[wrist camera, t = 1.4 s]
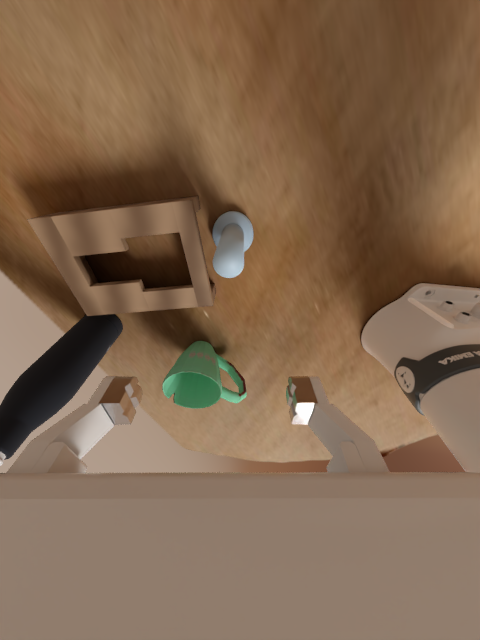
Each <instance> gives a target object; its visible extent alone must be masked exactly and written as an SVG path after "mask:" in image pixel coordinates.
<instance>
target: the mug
mask: <svg viewBox="0 0 480 640" xmlns="http://www.w3.org/2000/svg"><path fill="white" fill-rule="evenodd" d="M219 367H220V368H222V369H223V370H225V371H226V372H228V374H229V375H230V376H231V378H232V379H233V380H234V382H235V383H236V384H237V386H238V387H239V393H237V392H233V391H231V390H229V389H227V388H225V387H223V386H222V384H221V378H220V370H219ZM162 390H163V392H164V394H165V396H166V397H167V398H168V399H169V398H170V397H171V395H172V394H174V403H175V404H177V405H180V406H183V407H187V408H205V407H209V406H211V405H213V404H215V403H217V401H218V400H219V399H220V398H223V399H225V400H227V401H230V402H233V403H239V402H240V401H241V400H243V399H244V398H245V397H246V395H247V393H246V386H245V380H244V378H243V377H242V376H241V375H240V373H239V372H238V371H237V370H236V368H235V367H234V366H233V365H232V364H231V363H229V362H228V361H226V360H225V359H223V358H222V357H220V356H219V355H217V354H216V353H215V351H214V349H213V347H212V345H210V344H209V343H207V342H205V341H196V342H194V343H193V344H191V345H190V346H189V347H188V348H187V349H186V350H185V351H184V352H183V353H182V354H181V356H180V357H179V358H178V360H177V361H176V363H175V365H174V366H173V367H172V369H171V370H170V371H169V373H168V374H167V376H166V377H165V379H164V381H163V386H162Z"/></svg>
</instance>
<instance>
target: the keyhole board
mask: <svg viewBox="0 0 480 640" xmlns="http://www.w3.org/2000/svg"><path fill="white" fill-rule="evenodd" d="M199 210H200V203H199V198H198V196H192V197H184V198H176V199H167V200H159V201H151V202H142V203H134V204H126V205H117V206H109V207H101V208H92V209H84V210H76V211H67V212H59V213H52V214H48V215H44V216H40V217H35V218H31V219H27V220H28V222H29V223H30V225H31V227H32V228H33V230H34V231H35V233H36V235H37V236H38V238H39V239H40V241H41V243H42V244H43V246H44V247H45V249H46V251H47V252H48V254H49V255H50V257H51V259H52V260H53V262H54V263H55V265H56V267H57V268H58V270H59V272H60V273H61V275H62V276H63V278H64V280H65V281H66V283H67V284H68V286H69V288H70V289H71V291H72V292H73V294H74V296H75V297H76V299H77V300H78V302H79V304H80V305H81V307H82V308H83V310H84V312H85V313H86V315H87V316H94V315H106V314H119V313H131V312H143V311H155V310H167V309H180V308H192V307H204V306H213V303H214V299H215V294H216V288H215V284H210V281H209V276H208V272H207V267H206V262H205V257H204V252H203V247H202V242H201V237H200V232H199V227H198V222H197V217H196V212H197V211H199ZM177 232H179V233H180V237H181V241H182V245H183V249H184V253H185V257H186V261H187V265H188V268H189V272H190V276H191V280H192V284H193V285H183V286H172V287H161V288H150V289H145V287H144V285H143V282H142V280H141V279H139V280H128V281H118V282H107V283H98V281H97V279H96V277H95V275H94V273H93V271H92V270H91V268H90V266H89V264H88V262H87V260H86V258H85V256H84V255H93V254H102V253H112V252H121V251H127V250H128V249H129V247H128V245H127V242H126V240H125V238H131V237H140V236H150V235H159V234H168V233H177Z"/></svg>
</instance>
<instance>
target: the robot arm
mask: <svg viewBox="0 0 480 640" xmlns="http://www.w3.org/2000/svg"><path fill="white" fill-rule="evenodd" d="M361 342H362V345H363V347H364V349H365V350H366V351H367V352H368V353H369V354H371V355H372V356H373V357H375V358H376V359H377V360H378V361H379V362H380V363H381V364H382V365H383V366H384V367H385V368H386V369H387V370H388V371H389V372H390V373H391V374H392V375H393V376H394V377H395V378H396V380H397V382H398V384H399V386H400V387H401V389H402V391H403V392H404V394H405V395H406V396H407V398H408V399H409V401H410V402H411V403H412V404H413V406H414V407H415V408H416V410H417V411H418V412H419V413H420V414H422V415H424V416H425V417H426V418H427V419H428V421H429V422H430V424H431V425H432V426H433V428H434V429H435V430H436V432H437V433H438V434H439V436H440V437H441V439H442V440H443V441H444V443H445V444H446V445H447V447H448V448H449V449H450V451H451V452H452V454H454V456H455V458H456V459H457V460H458V462H459V463H460V464H461V466H462V467H463V468H464V470H465V471H466V472H389V470H388V468H387V466H386V464H385V462H384V460H383V458H382V456H381V454H380V452H379V450H378V448H377V446H376V444H375V442H374V440H373V439H371V438H370V437H369V436H368V435H367V434H366V433H365V432H364V431H362V430H361V429H360V428H359V427H358V426H357V425H356V424H355V423H353V422H352V421H351V420H350V419H349V418H348V417H347V416H346V415H344V414H343V413H342V412H341V411H340V410H339V409H338V408H337V407H335V406H334V405H333V404H329V401H328V399H327V396H326V394H325V391H324V389H323V386H322V384H321V381H320V378H319V377H308V376H296V377H289V379H288V383H289V385H288V386H287V389H286V397H287V404H288V405H289V406H290V411H289V413H290V418H291V423H292V424H308V426H309V427H310V428H311V430H312V431H313V432H314V433H315V435H316V436H317V437H318V438H319V439H320V441H321V442H322V443H323V444H324V446H325V447H326V448H327V449H328V451H329V452H330V453H331V454H332V456H333V457H332V459H331V461H330V463H329V464H328V466H327V471H328V472H324V473H321V472H320V473H319V472H318V473H317V472H316V473H85V471H86V469H87V466H86V465H85V464H84V463H83V462H82V461H81V460H80V459H81V458H82V457H83V456H84V455H85V454H86V453H87V452H88V451H89V450H90V449H91V448H92V447H93V446H94V445H95V444H96V443H97V442H98V441H99V440H100V439H101V438H102V437H103V436H104V435H105V434H106V433H107V432H108V431H109V430H110V429H111V428H112V427H113V426H114V425H117V424H131V423H132V420H133V418H134V416H135V413H136V410H135V407H137V406H138V405H139V404H140V401H141V399H142V388H141V386H139V385H138V384H137V383H138V379H137V377H117V376H106V377H105V378H104V379H103V380H102V382H101V383H100V385H99V386H98V388H97V389H96V391H95V392H94V394H93V395H92V397H91V399H90V400H89V402H88V403H87V404H83V405H82V406H81V407H79V408H78V409H76V410H75V411H73V412H72V413H70V414H69V415H68V416H66V417H65V418H63V419H62V420H60V421H59V422H57V423H56V424H55V425H53V426H52V427H50V428H49V429H47V430H46V431H45V432H43V433H42V434H40V435H39V436H37V437H36V438H34V439H33V440H32V441H31V442H30V443H29V444H28V445H27V447H26V448H25V449H24V451H23V452H22V453H21V455H20V456H19V457H18V459H17V460H16V461H15V462H14V464H13V465H12V466H11V467H10V469H9V470H8V471H7V473H0V640H480V288H471V287H460V286H449V285H438V284H427V283H420V284H417V285H415V286H414V287H412V288H411V289H410V290H409V291H408V292H406V293H405V294H404V295H403V296H402V297H401V298H399V299H398V300H396V301H394V302H392V303H390V304H388V305H387V306H385V307H384V308H382V309H381V310H379V311H378V312H377V313H376V314H375V315H374V316H373V317H372V318H371V319H370V320H369V321H368V322H367V324H366V326H365V327H364V329H363V332H362V336H361Z"/></svg>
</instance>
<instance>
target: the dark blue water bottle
mask: <svg viewBox="0 0 480 640" xmlns="http://www.w3.org/2000/svg"><path fill="white" fill-rule="evenodd" d="M122 330H123V326H122V323H121V321H120V319H119V318H118V317H117V316H116V315H114V314H106V315H94V316H87V315H85V316H84V317H83V318H82V319H81V320H80V321H79V322H78V323H77V324H75V325H74V326H73V327H72V328H71V329H70V330H69V331H68V332H67V333H66V334H65V335H64V336H63V337H61V338H60V339H59V340H58V341H57V342H56V343H55V344H54V345H53V346H52V347H51V348H50V349H49V350H47V351H46V352H45V353H44V354H43V355H42V356H41V357H40V358H39V359H38V360H37V361H36V362H35V363H33V364H32V365H31V366H30V367H29V368H28V369H27V370H26V371H25V372H24V373H23V374H22V375H21V376H20V377H19V378H18V379H17V381H16V382H15V383H14V385H13V386H12V387H11V389H10V390H9V392H8V393H7V394H6V396H5V398H4V400H3V401H2V403H1V405H0V465H2V464H3V460H5V459H9V458H10V457H11V456H12V455H13V454H14V452H16V450H17V449H18V448H19V447H20V445H21V444H22V443H23V442H24V440H25V439H26V438H27V437H28V436H29V434H30V433H31V432H32V431H33V430H35V429H36V428H37V427H39V426H40V425H41V424H43V423H44V422H45V421H47V420H48V419H49V418H51V417H52V416H53V415H54V414H56V413H57V412H58V411H59V410H60V409H61V408H62V407H63V406H65V405H66V404H67V403H68V402H69V401H70V400H71V399H72V398H73V396H74V395H75V394H76V392H77V391H78V390H79V388H80V387H81V386H82V384H83V383H84V382H85V380H86V379H87V377H88V376H89V375H90V374H91V372H92V371H93V369H94V368H95V367H96V366H97V364H98V363H99V362H100V360H101V359H102V358H103V356H104V355H105V354H106V352H107V351H108V350H109V348H110V347H111V346H112V344H113V343H114V342H115V340H116V339H117V338H118V336H119V335H120V334H121V332H122Z"/></svg>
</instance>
